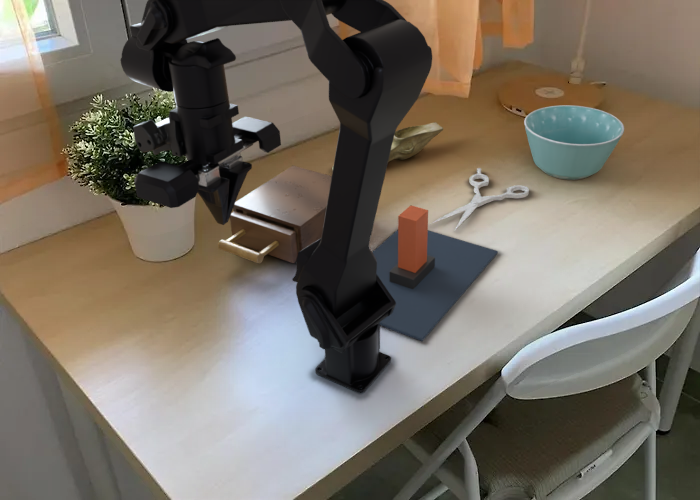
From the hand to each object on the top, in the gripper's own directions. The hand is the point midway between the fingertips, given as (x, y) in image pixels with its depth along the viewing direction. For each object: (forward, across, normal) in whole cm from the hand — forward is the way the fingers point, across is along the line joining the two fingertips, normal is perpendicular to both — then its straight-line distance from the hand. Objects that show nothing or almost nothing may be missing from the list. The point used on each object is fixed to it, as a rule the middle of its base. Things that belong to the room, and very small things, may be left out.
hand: (222, 222), depth 85 cm
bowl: (+12, -57, +25) cm, 63 cm away
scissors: (+12, -38, +16) cm, 43 cm away
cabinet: (+12, -18, -3) cm, 22 cm away
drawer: (+11, -14, -3) cm, 18 cm away
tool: (+12, -46, -3) cm, 47 cm away
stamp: (+12, -16, +17) cm, 26 cm away
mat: (+12, -16, +17) cm, 27 cm away
